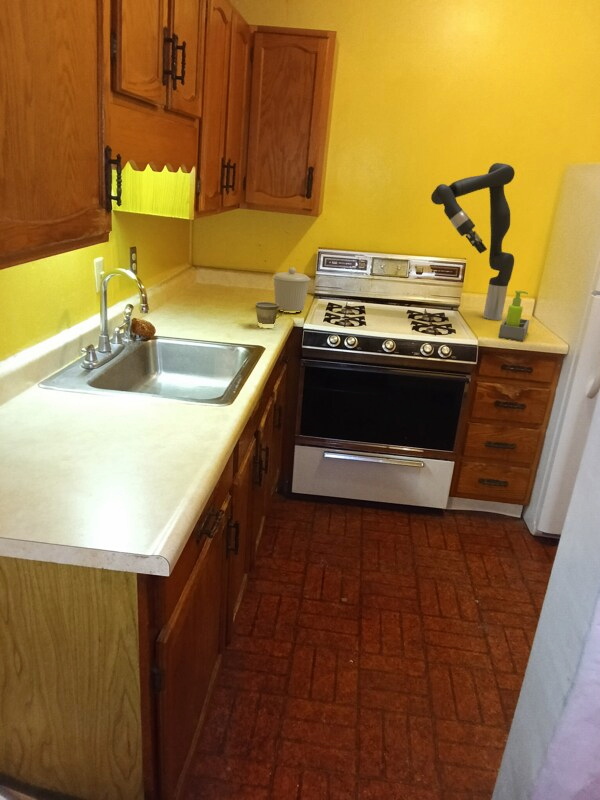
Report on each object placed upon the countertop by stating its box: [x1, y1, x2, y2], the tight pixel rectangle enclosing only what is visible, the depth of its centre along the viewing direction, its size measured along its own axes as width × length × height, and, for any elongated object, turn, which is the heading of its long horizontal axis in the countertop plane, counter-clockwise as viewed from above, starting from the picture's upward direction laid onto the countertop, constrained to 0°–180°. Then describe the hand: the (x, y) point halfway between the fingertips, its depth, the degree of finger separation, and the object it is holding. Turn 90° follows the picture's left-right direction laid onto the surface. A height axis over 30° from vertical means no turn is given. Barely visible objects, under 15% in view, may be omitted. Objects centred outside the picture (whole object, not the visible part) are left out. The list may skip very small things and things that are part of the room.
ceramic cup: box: [255, 301, 285, 324], centre depth 265 cm, size 13×10×10 cm
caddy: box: [497, 316, 530, 343], centre depth 283 cm, size 21×10×6 cm, turn 155°
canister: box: [272, 267, 312, 312], centre depth 296 cm, size 18×18×21 cm
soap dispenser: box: [506, 290, 529, 327], centre depth 276 cm, size 6×7×20 cm
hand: (483, 251), depth 282 cm, fingers open, 8 cm apart
